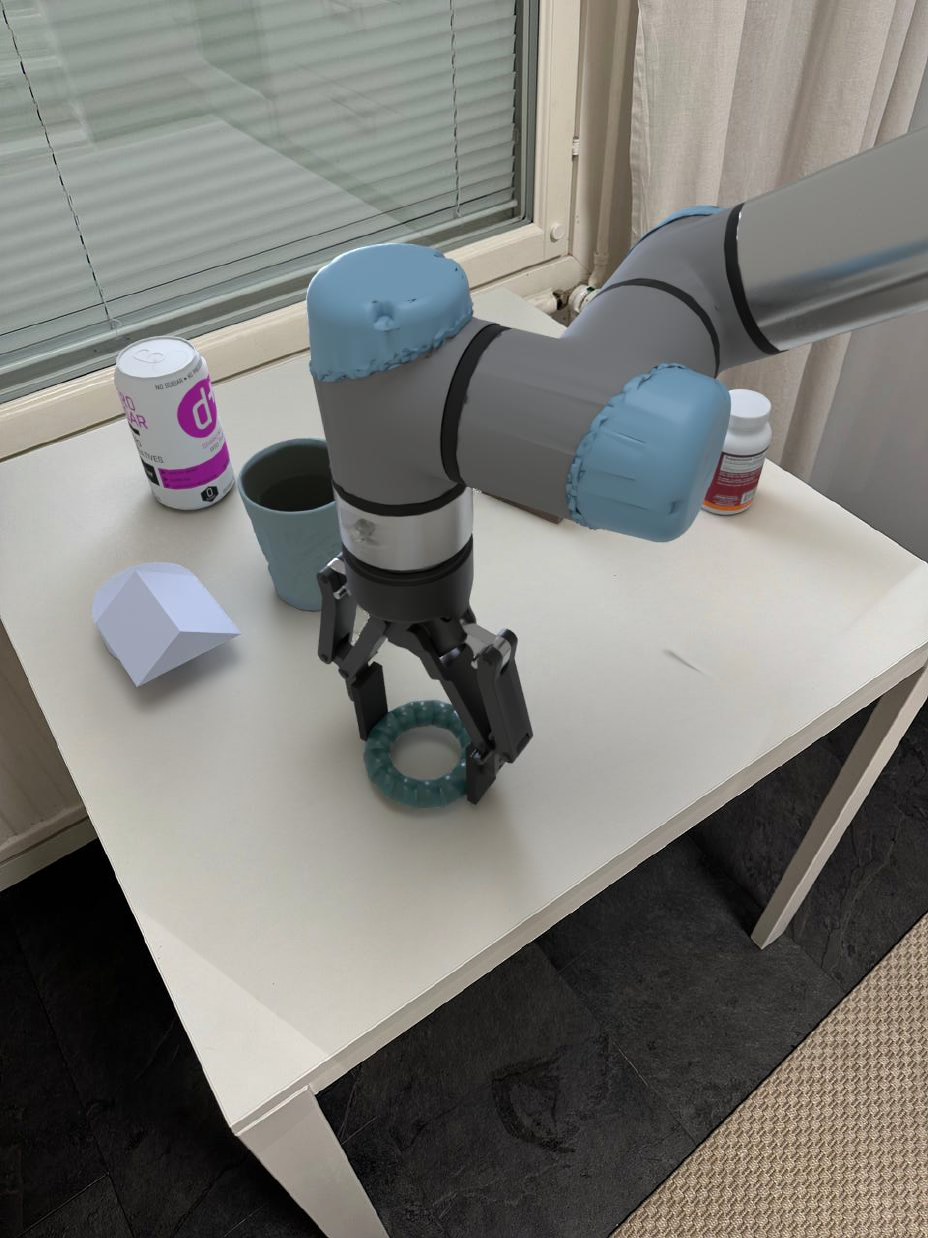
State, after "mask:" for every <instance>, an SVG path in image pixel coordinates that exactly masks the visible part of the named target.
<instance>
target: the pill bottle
mask: <svg viewBox="0 0 928 1238" xmlns="http://www.w3.org/2000/svg"><path fill="white" fill-rule="evenodd" d="M728 391H729V394H730V398H731V413H730V419H729V425H728V429H727V434H726V437H725V441H724V445H723V449H722V452H721V456H720V459H719V462H718V465H717V468H716V471H715V474H714V477H713V479H712V482H711V484H710V487H709V488H708V490H707V493H706V496H705V499H704V501H703V504H702V506H701V509H703V510H705V511H708V512H709V513H712V514H716V515H735V514H739V513H742V512H744V511H745V510H747V509H749V507H750V506H751V505H752V503H753V501H754V499H755V496H756V491H757V489H758V485H759V483H760V482H759V481H760V478H761V476H762V471H763V468H764V464H765V461H766V458H767V454H768V450H769V448H770V444H771V440H772V436H773V435H772V433H773V431H772V426H771V425H770V423H769V419H770V416H771V412H772V403H771V401H770V400H769V399H768V397H767V396H765V395H764V394H762V393H760V392H758V391H755V390H750V389H746V388H736V389H731V390H730V389H729V390H728Z"/></svg>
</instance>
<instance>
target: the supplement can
mask: <svg viewBox="0 0 928 1238" xmlns="http://www.w3.org/2000/svg"><path fill="white" fill-rule="evenodd" d="M115 360H116V361H115V363H116V364H115V369H114V373H113V376H114V377H113V379H114V381H113V383H114V386H115V388H116V392H117V395H118V397H119V399H120V400H119V401H120V403H121V406H122V409H123V411H124V415H125V417H126V420H127V423H128V426H129V429H130V432H131V435H132V438H133V441H134V443H135V446H136V449H137V452H138V455H139V458H140V461H141V463H142V467H143V470H144V472H145V473H144V474H145V475H146V478H147V481H148V485H149V486H150V487H149V488H150V490H151V492H152V494H153V496H154V497H155V499H156V500H157V502H159V503H161V504H163V505H165V506H166V507H170V508H173V509H175V510H182V511H194V510H200V509H201V510H202V509H204V508H207V507H210V506H212V505H214V504H216V503H217V502H219V501H221V500H222V499H223V498H224V497H225V496H226V495H227V494H228V492H229V491H230V490H231V489H232V488H233V485H234V482H235V480H236V479H235V472H234V468H233V463H232V459H231V455H230V451H229V448H228V444H227V439H226V436H225V433H224V428H223V424H222V420H221V416H220V412H219V409H218V404H217V401H216V396H215V392H214V389H213V385H212V382H211V376H210V373H209V369H208V365H207V361H206V359H205V358H204V357H203V356H202V355H201V354H200V353H199V352H198V351H197V350H196V347H195V346H194V344H192V342H191V341H189V340H187V339H186V338H183V337H180V336H171V335H160V336H152V337H146V338H143V339H140V340H137V341H135V342H133V343H130V344H129V345H127V346H126V347H124V348H123V349H122V350H120V352H119V353H118V355H117V356H116V359H115Z"/></svg>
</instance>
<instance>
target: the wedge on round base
mask: <svg viewBox="0 0 928 1238" xmlns="http://www.w3.org/2000/svg"><path fill="white" fill-rule="evenodd" d="M90 608H91V610H90V611H91V616H92V620H93V622H94V624H95V626H96V628H97V630H98V633H99V635H100V637H101V639H102V641H103V643H104V645H105V647H106V649H107V651H108V652H109V653H110V654H111V655H112V656H113V658H116V659H117V660H119V661H120V663H121V665H122V666H123V668H124V670H125V671H126V672H127V674H128V676H129V677H130V678H131V680H132V682H133V683H134V685H135V687H136V688H139V687H140V686H142V685H144V684H146V683H148V682H150V681H152V680H154V679H156V678H158V677H159V676H162V675H163V674H165V673H168V672H169V671H171V670H173V669H175V668H177V667H179V666H181V665H183V664H185V663H187V662H189V661H191V660H193V659H195V658H197V657H198V656H201V655H203V654H204V653H206V652H209V651H211V650H212V649H215V648H216V647H219V646H220V645H222V644H225V643H226V642H228V641H230V640H232V639H234V638H236V637H238V636H240V635H242V632H241V631H240V630H239V629H238V627H237V626H236V625H235V624H234V622H233V621H232V620H231V618H230V617H229V616H228V615H227V613H226V612H225V611H224V609H223V608H222V607H221V606H220V605H219V603H218V602H217V601H216V600H215V598H214V597H213V596H212V594H210V592H209V591H208V589H207V588H206V587H205V586H204V584H202V582H201V581H200V580H199V579H198V577H197V575H195V574H194V573H193V572H192V571H191V570H189V569H188V568H186V567H185V566H183V565H180V564H176V563H173V562H166V561H154V562H146V563H141V564H136V565H133V566H129V567H128V568H126V569H123V570H122V571H119V572H118V573H116V574H114V575H113V576H112V577H110V578H109V579H107V580H106V581H105V582H104V583H103V584H102V585H101V586H100V587H99V588H98V590H97V592H96V593H95V595H94V597H93V599H92V603H91V607H90Z"/></svg>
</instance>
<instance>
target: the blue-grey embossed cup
mask: <svg viewBox="0 0 928 1238" xmlns="http://www.w3.org/2000/svg"><path fill="white" fill-rule="evenodd" d="M329 463H330V460H329V454H328V449H327V443H326V439H324V438H319V437H299V438H298V437H297V438H291V439H286V440H282V441H279V442H275V443H273V444H270V445H269V446H266V447H264V448H262V449H260V450H259V451H257V452H256V453H254V454H253V455H252V456H250V458H248V459H247V461H246V462H244V464H243V465H242V467H241V469H240V470H239V473H238V477H237V489H238V493H239V496H240V498H241V500H242V501H241V502H242V503H243V506H244V508H245V511H246V514H247V515H248V518H249V519H250V522H251V525H252V528H253V532H254V534H255V536H256V539H257V542H258V545H259V547H260V550H261V553H262V555H263V556H264V558H265V560H266V562H267V570H268V573H269V576H270V578H271V581H272V584H273V586H274V589H275V592H276V593H277V594H278V596H279V597H280V598H281V599H282V600H283V601H284V602H285V603H287V604H288V605H290V606H291V607H294V608H296V609H300V610H304V611H312V612H317V611H318V612H320V611H321V606H322V595H321V591H320V588H319V584H318V581H317V578H316V575H317V573H318V572H319V571H320V570H322V569H323V568H324V567H325V566H326V565H327V564H328V563H330V562H331V561H332V560H333V559H334V558H335V557H336V556H337V555H338V554H339V553H341V552H342V539H341V536H340V530H339V523H338V517H337V511H336V505H335V499H334V493H333V487H332V481H331V472H330V469H329Z"/></svg>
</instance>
